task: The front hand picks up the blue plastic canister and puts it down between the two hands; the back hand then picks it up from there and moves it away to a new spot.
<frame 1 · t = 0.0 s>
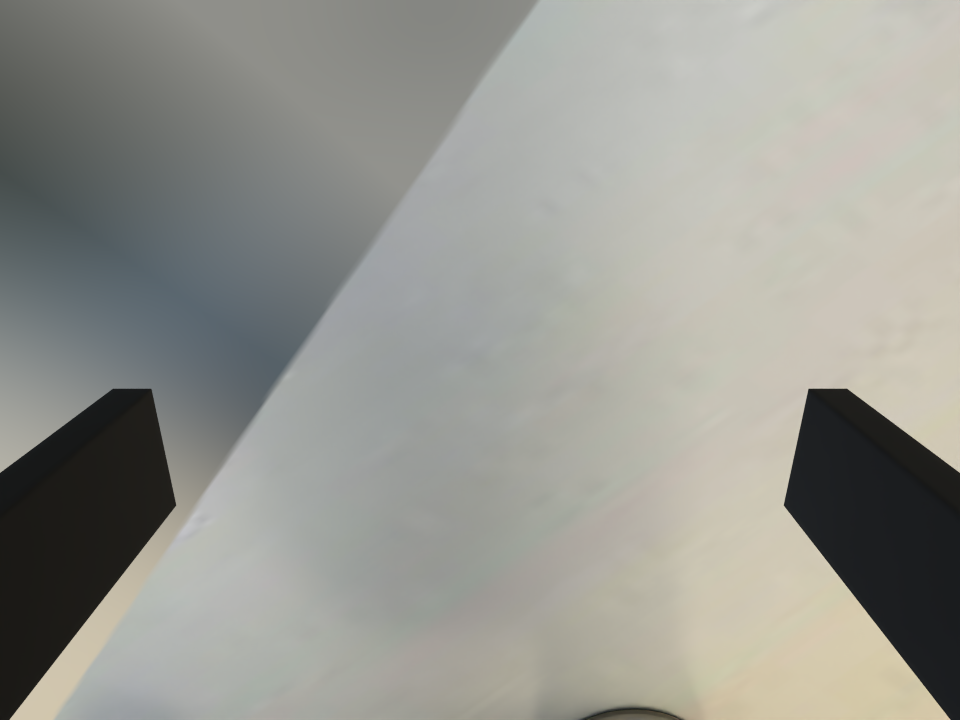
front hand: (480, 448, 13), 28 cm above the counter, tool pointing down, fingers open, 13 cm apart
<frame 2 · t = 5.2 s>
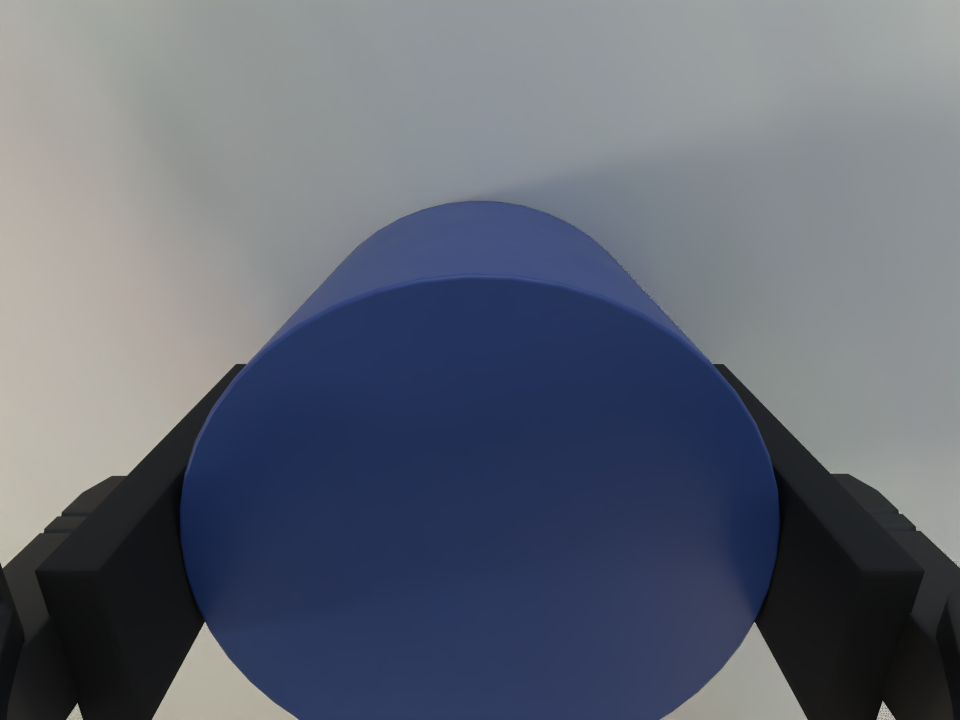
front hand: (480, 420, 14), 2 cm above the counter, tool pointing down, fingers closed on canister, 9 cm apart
canister: (479, 378, 16), on the counter, touching front hand
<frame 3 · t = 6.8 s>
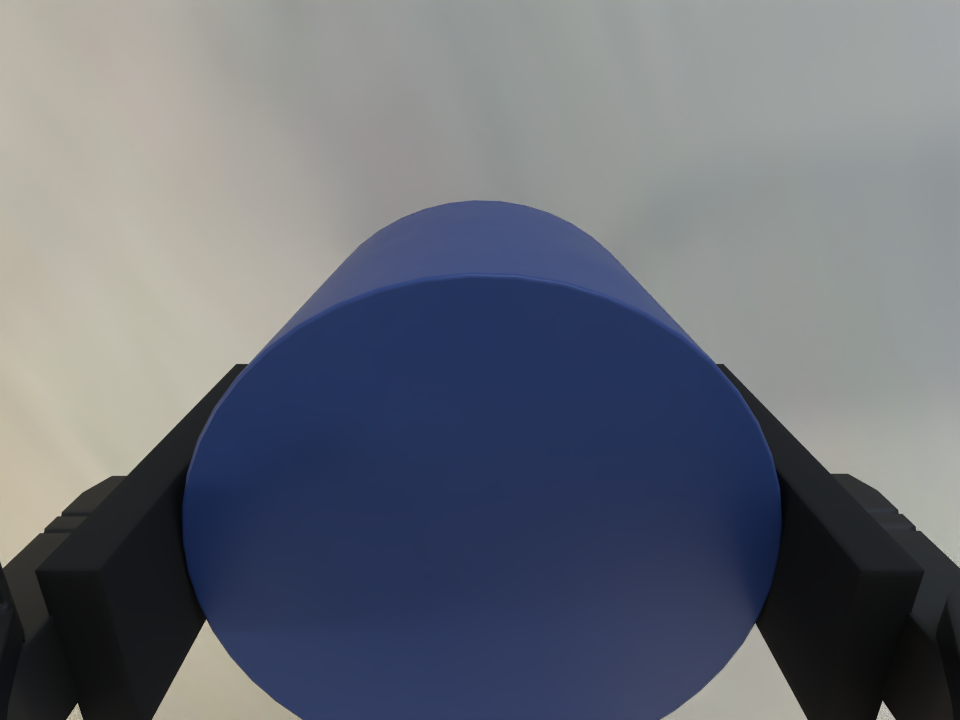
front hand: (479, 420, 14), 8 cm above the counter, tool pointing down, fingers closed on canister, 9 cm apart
canister: (481, 377, 16), point 5 cm above the counter, touching front hand
when the front hand's fingers open (4 cm above the counter, at t = 8.4 s): canister drops 1 cm, on the counter.
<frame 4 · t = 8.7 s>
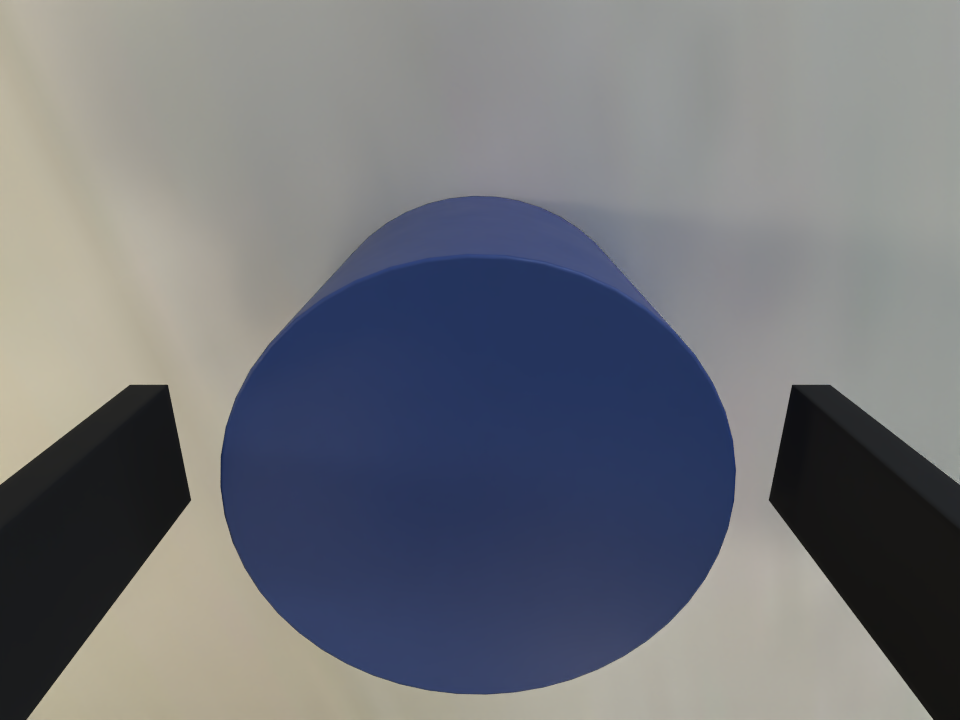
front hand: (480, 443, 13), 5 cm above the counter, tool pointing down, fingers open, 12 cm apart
canister: (478, 358, 18), on the counter
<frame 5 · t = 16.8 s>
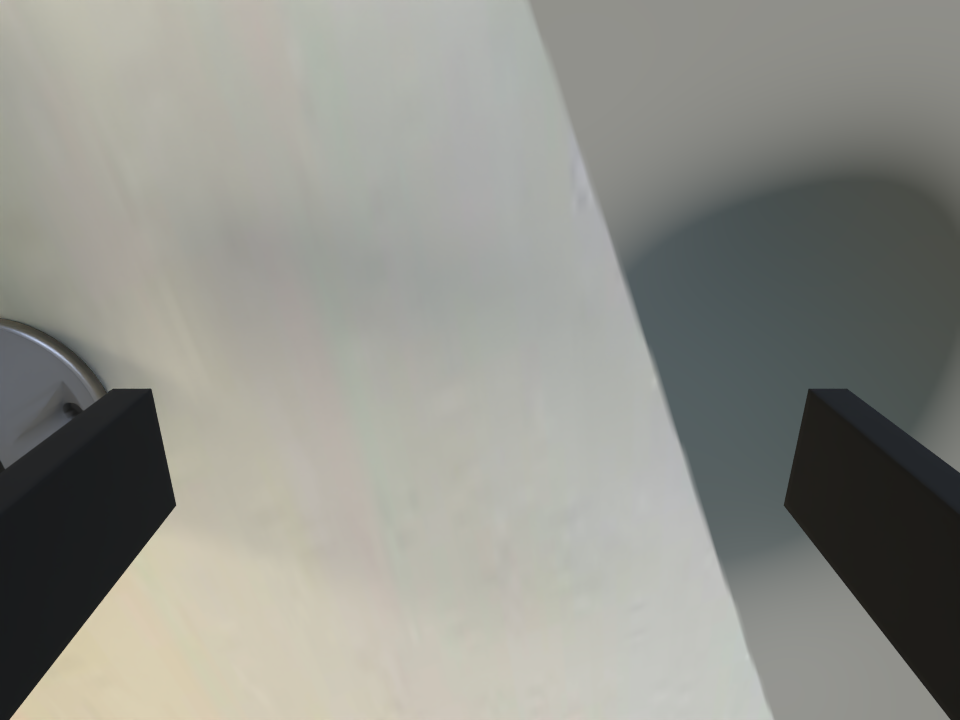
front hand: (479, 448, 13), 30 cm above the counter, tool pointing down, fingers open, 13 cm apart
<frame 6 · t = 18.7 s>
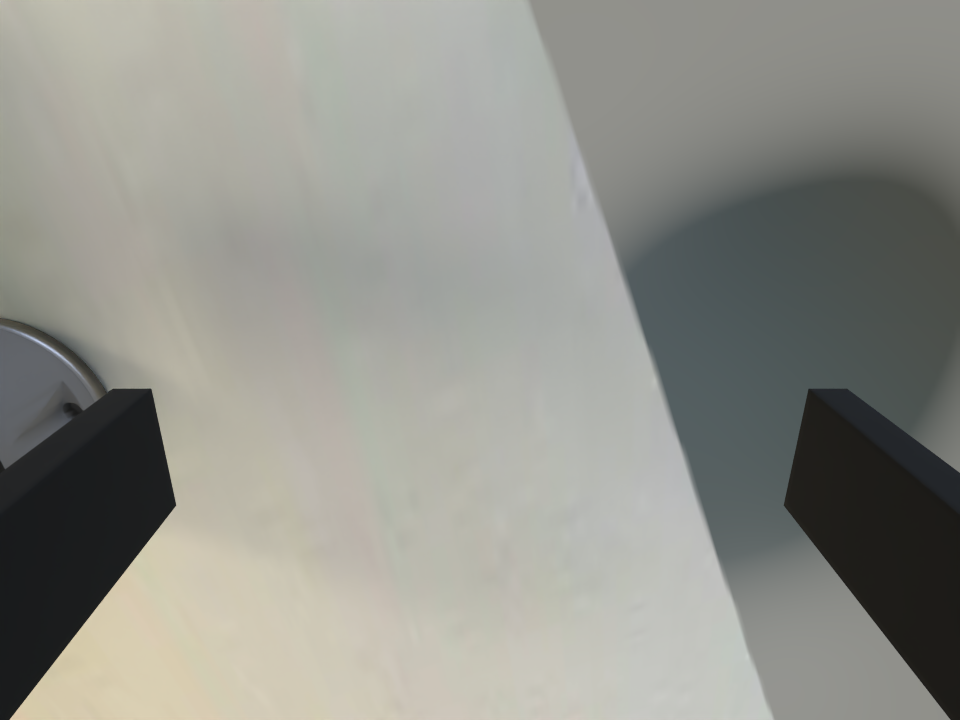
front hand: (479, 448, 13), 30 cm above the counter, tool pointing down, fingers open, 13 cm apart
when the back hand's fingers open (4 cm above the counter, at t = 21.0 s): canister drops 1 cm, on the counter.
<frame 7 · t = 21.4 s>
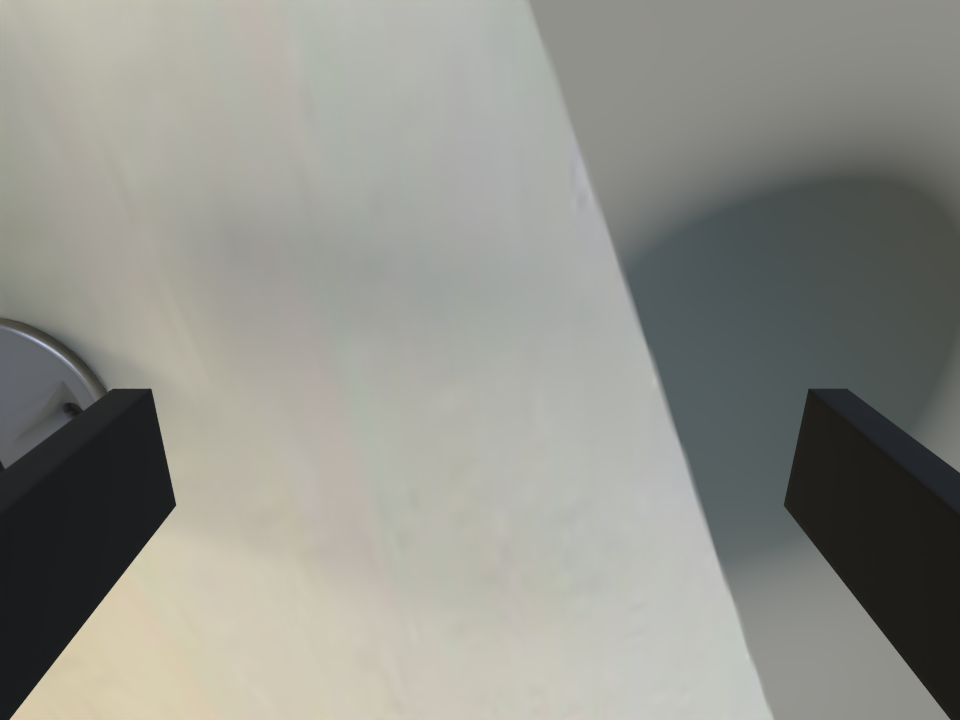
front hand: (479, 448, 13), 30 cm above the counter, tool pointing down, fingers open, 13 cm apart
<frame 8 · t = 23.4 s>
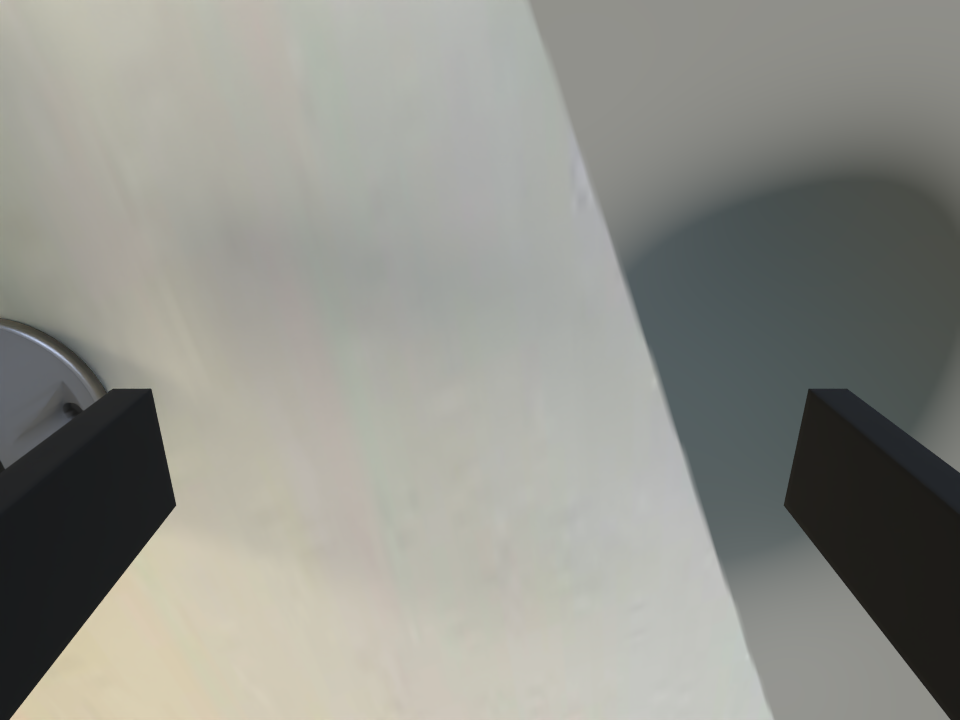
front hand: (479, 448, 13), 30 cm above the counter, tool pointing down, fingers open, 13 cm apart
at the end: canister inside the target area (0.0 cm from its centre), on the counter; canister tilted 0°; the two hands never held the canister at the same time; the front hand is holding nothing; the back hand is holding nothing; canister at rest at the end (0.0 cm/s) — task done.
